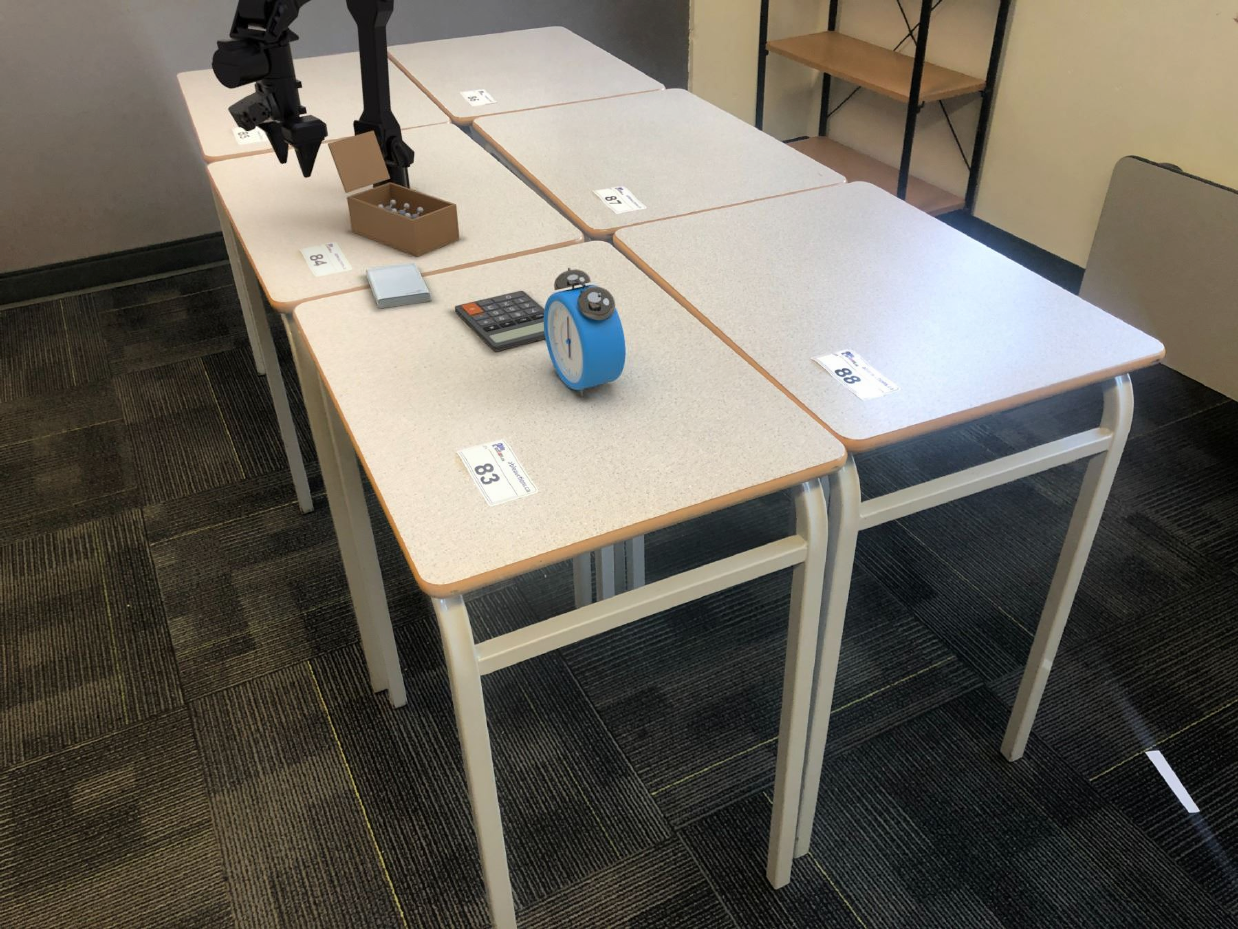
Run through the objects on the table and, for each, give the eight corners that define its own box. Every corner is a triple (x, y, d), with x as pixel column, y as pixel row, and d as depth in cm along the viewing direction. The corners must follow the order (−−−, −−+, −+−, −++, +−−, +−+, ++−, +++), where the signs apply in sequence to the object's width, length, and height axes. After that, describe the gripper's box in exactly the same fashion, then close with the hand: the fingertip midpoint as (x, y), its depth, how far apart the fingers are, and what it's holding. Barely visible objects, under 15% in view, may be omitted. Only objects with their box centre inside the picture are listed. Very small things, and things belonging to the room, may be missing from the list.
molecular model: (441, 238, 168) (438, 211, 166) (422, 245, 166) (419, 218, 163) (392, 219, 176) (389, 193, 173) (374, 225, 173) (370, 199, 170)
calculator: (522, 289, 151) (566, 327, 140) (522, 294, 151) (566, 332, 141) (453, 304, 146) (494, 345, 135) (454, 310, 146) (494, 351, 136)
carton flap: (346, 192, 168) (345, 192, 168) (390, 178, 174) (389, 178, 174) (328, 143, 164) (327, 143, 165) (373, 130, 171) (372, 130, 171)
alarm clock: (543, 365, 133) (539, 265, 124) (583, 355, 136) (581, 256, 127) (586, 409, 124) (585, 304, 115) (627, 397, 126) (629, 294, 118)
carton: (352, 231, 172) (346, 196, 168) (394, 216, 178) (390, 182, 175) (417, 256, 163) (412, 220, 159) (459, 239, 170) (456, 204, 166)
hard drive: (430, 291, 148) (415, 260, 158) (377, 299, 146) (364, 267, 155) (431, 301, 149) (416, 270, 159) (378, 309, 147) (366, 276, 156)
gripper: (205, 70, 155) (227, 165, 164) (252, 94, 144) (273, 195, 153) (270, 61, 161) (288, 153, 170) (321, 83, 150) (337, 180, 159)
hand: (295, 170), depth 163 cm, fingers open, 9 cm apart
